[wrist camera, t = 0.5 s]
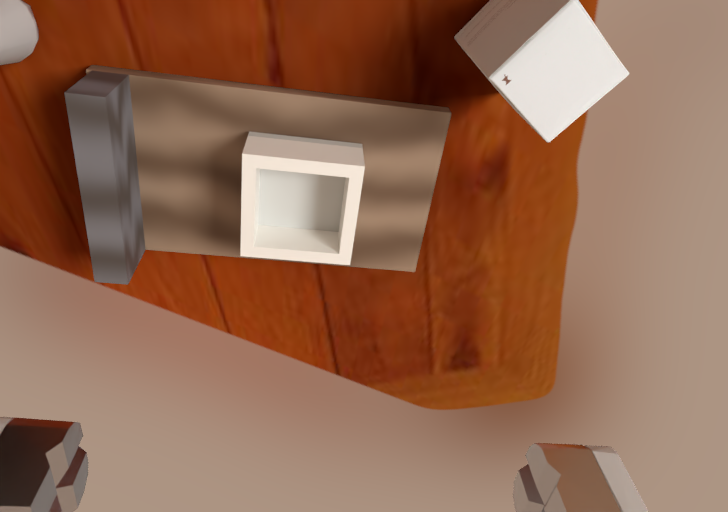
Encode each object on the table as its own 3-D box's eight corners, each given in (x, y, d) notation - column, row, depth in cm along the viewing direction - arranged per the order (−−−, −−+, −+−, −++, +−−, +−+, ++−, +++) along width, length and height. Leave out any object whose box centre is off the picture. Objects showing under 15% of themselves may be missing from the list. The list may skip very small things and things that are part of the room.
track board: (92, 64, 48) (57, 91, 42) (448, 107, 52) (464, 137, 46) (114, 238, 58) (89, 281, 52) (413, 264, 62) (422, 306, 56)
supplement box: (501, 94, 52) (545, 147, 41) (451, 35, 49) (484, 78, 38) (568, 34, 49) (633, 75, 39) (519, -32, 46) (575, -6, 35)
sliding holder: (249, 131, 51) (242, 153, 46) (362, 143, 52) (364, 166, 48) (246, 228, 56) (240, 256, 52) (348, 237, 57) (350, 265, 53)
